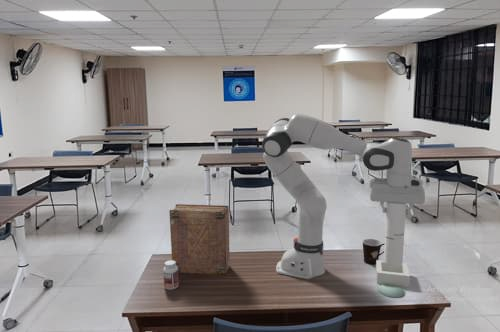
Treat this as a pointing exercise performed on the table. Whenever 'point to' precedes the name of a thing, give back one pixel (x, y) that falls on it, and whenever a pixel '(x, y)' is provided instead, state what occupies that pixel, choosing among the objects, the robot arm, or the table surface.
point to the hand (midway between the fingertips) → (395, 213)
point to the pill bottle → (171, 275)
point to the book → (200, 238)
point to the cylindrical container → (394, 233)
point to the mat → (391, 290)
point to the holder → (392, 274)
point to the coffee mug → (371, 251)
